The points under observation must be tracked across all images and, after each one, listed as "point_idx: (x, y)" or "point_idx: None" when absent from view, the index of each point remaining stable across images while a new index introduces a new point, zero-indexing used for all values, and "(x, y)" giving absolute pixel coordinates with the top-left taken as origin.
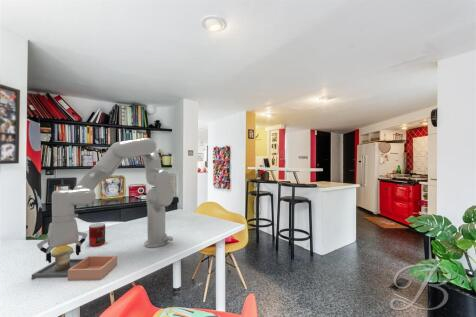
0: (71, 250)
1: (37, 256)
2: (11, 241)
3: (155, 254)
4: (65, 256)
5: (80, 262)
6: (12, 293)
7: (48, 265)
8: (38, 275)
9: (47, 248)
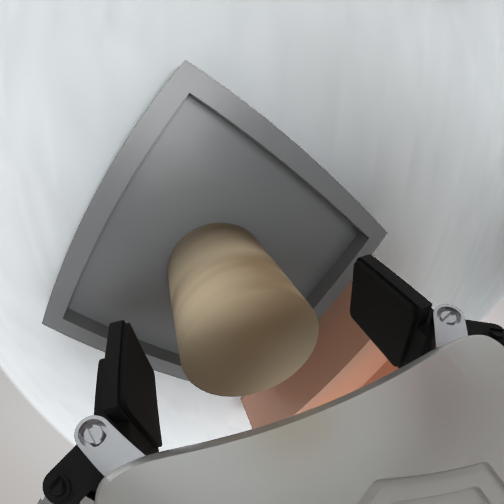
0: None
1: None
2: None
3: (494, 279)
4: (270, 380)
5: (326, 391)
6: (45, 398)
7: (104, 193)
8: (86, 340)
9: (108, 470)
